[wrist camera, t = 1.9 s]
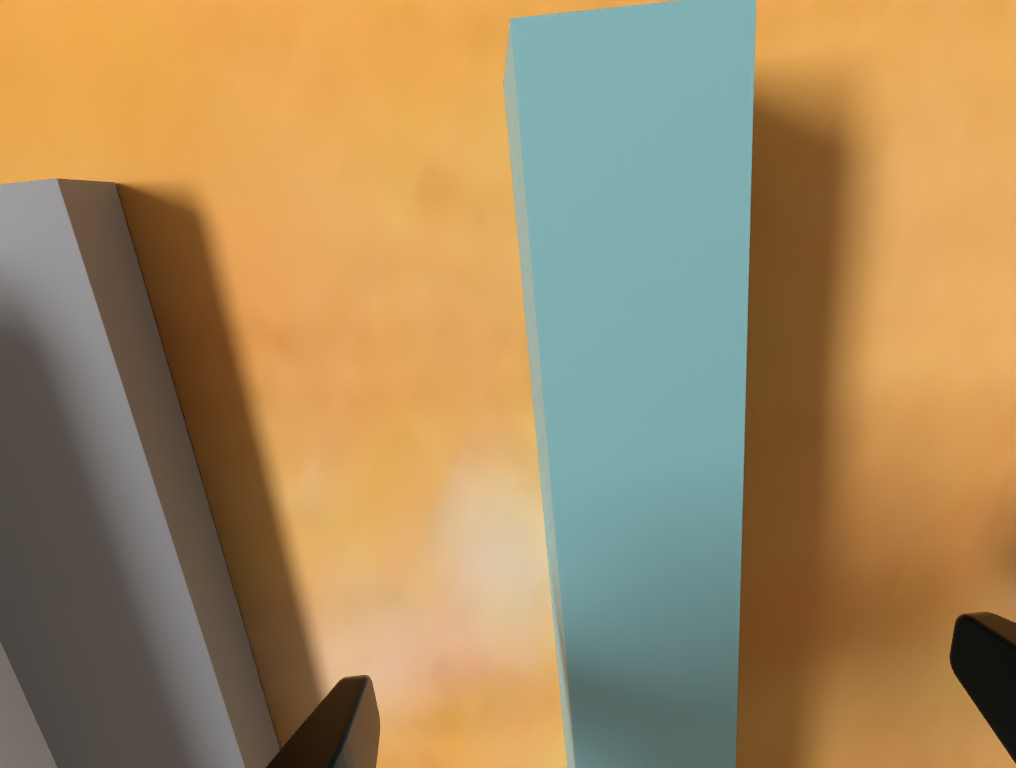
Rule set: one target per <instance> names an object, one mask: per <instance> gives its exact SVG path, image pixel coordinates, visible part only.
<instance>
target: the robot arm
mask: <svg viewBox="0 0 1016 768" xmlns="http://www.w3.org/2000/svg"><path fill="white" fill-rule="evenodd" d="M950 663H951V667H952V669H953V671H954V674H955V675H956V677H957V678H958V680H959V681H960V683H961V684H962V686H963V687H964V689H965V690H966V692H967V693H968V695H969V696H970V697H971V699H972V700H973V702H974V703H975V705H976V706H977V708H978V709H979V711H980V712H981V714H982V715H983V717H984V718H985V719H986V721H987V722H988V724H989V725H990V727H991V728H992V730H993V731H994V733H995V734H996V736H997V737H998V739H999V740H1000V741H1001V743H1002V744H1003V746H1004V747H1005V749H1006V750H1007V752H1008V753H1009V755H1010V756H1011V758H1012V759H1013V761H1014V762H1015V763H1016V623H1014V622H1012V621H1010V620H1007V619H1005V618H1003V617H1000V616H998V615H996V614H993V613H989V612H977V613H967V614H962V615H960V616H959V617H958V618H957V619H956V622H955V626H954V632H953V638H952V644H951V650H950ZM379 736H380V717H379V712H378V707H377V702H376V698H375V693H374V688H373V684H372V680H371V679H370V677H369V676H367V675H360V676H351V677H345V678H343V679H341V680H340V681H339V682H338V683H337V684H336V685H335V687H334V688H333V689H332V690H331V691H330V692H329V694H328V695H327V696H326V697H325V698H324V699H323V701H322V702H321V703H320V704H319V705H318V706H317V708H316V709H315V710H314V711H313V712H312V713H311V715H310V716H309V717H308V718H307V719H306V720H305V722H304V723H303V724H302V725H301V726H300V727H299V729H298V730H297V731H296V732H295V733H294V734H293V736H292V737H291V738H290V739H289V740H288V741H287V743H286V744H285V745H284V746H283V747H282V748H281V750H280V751H279V752H278V753H277V754H276V755H275V757H274V758H273V759H272V760H271V761H270V762H269V764H268V765H267V766H266V767H265V768H376V763H377V754H378V745H379Z"/></svg>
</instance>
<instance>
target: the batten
mask: <svg viewBox="0 0 1016 768" xmlns="http://www.w3.org/2000/svg"><path fill="white" fill-rule="evenodd" d="M755 22H756V0H680V1H670V2H661V3H652V4H642V5H633V6H624V7H614V8H605V9H596V10H586V11H577V12H568V13H558V14H549V15H540V16H530V17H521V18H512V19H510V26H509V35H508V45H507V54H506V64H505V74H504V83H503V84H504V94H505V105H506V116H507V127H508V137H509V148H510V159H511V169H512V180H513V191H514V202H515V212H516V223H517V234H518V244H519V255H520V266H521V277H522V287H523V298H524V309H525V319H526V330H527V341H528V351H529V362H530V373H531V384H532V394H533V405H534V416H535V426H536V437H537V448H538V459H539V469H540V480H541V491H542V501H543V512H544V523H545V534H546V544H547V555H548V566H549V576H550V587H551V598H552V609H553V619H554V630H555V641H556V651H557V662H558V673H559V684H560V694H561V705H562V716H563V726H564V737H565V748H566V759H567V768H736V742H737V704H738V667H739V629H740V591H741V553H742V515H743V477H744V439H745V401H746V363H747V325H748V287H749V249H750V211H751V173H752V136H753V98H754V60H755Z"/></svg>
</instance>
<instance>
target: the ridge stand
mask: <svg viewBox="0 0 1016 768" xmlns="http://www.w3.org/2000/svg"><path fill="white" fill-rule="evenodd" d="M279 751H280V747H279V744H278V741H277V737H276V734H275V730H274V727H273V723H272V720H271V716H270V713H269V710H268V706H267V703H266V699H265V696H264V692H263V689H262V686H261V682H260V679H259V675H258V672H257V668H256V665H255V662H254V658H253V655H252V651H251V648H250V644H249V641H248V638H247V634H246V631H245V627H244V624H243V620H242V617H241V614H240V610H239V607H238V603H237V600H236V596H235V593H234V589H233V586H232V583H231V579H230V576H229V572H228V569H227V565H226V562H225V559H224V555H223V552H222V548H221V545H220V541H219V538H218V535H217V531H216V528H215V524H214V521H213V517H212V514H211V511H210V507H209V504H208V500H207V497H206V493H205V490H204V486H203V483H202V480H201V476H200V473H199V469H198V466H197V462H196V459H195V456H194V452H193V449H192V445H191V442H190V438H189V435H188V432H187V428H186V425H185V421H184V418H183V414H182V411H181V408H180V404H179V401H178V397H177V394H176V390H175V387H174V383H173V380H172V377H171V373H170V370H169V366H168V363H167V359H166V356H165V353H164V349H163V346H162V342H161V339H160V335H159V332H158V329H157V325H156V322H155V318H154V315H153V311H152V308H151V305H150V301H149V298H148V294H147V291H146V287H145V284H144V280H143V277H142V274H141V270H140V267H139V263H138V260H137V256H136V253H135V250H134V246H133V243H132V239H131V236H130V232H129V229H128V226H127V222H126V219H125V215H124V212H123V208H122V205H121V202H120V198H119V195H118V191H117V188H116V184H115V183H114V182H99V181H84V180H69V179H49V180H39V181H30V182H20V183H10V184H1V185H0V768H265V767H266V766H267V765H268V764H269V762H270V761H271V760H272V759H273V758H274V757H275V755H276V754H277V753H278V752H279Z"/></svg>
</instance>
